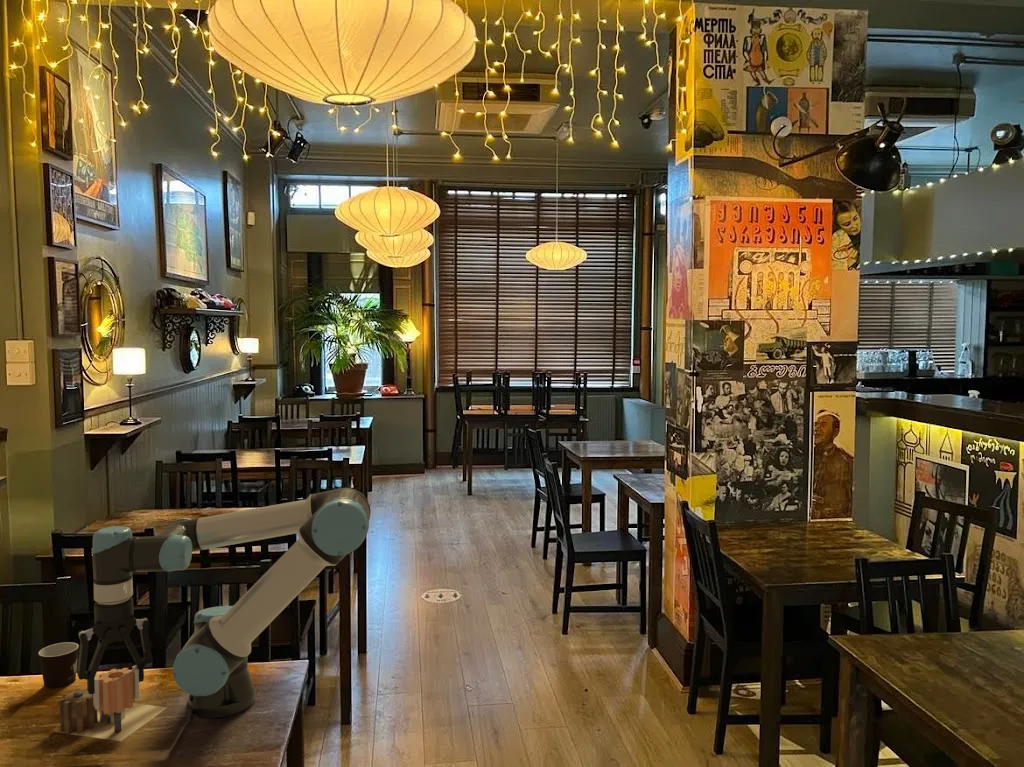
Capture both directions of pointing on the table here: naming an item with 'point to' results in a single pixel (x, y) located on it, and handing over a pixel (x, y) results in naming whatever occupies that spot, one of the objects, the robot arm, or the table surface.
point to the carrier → (122, 723)
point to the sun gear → (109, 717)
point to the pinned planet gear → (77, 712)
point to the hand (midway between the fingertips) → (116, 701)
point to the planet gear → (116, 690)
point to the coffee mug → (59, 664)
